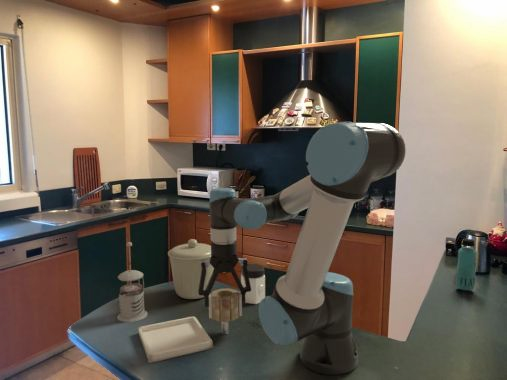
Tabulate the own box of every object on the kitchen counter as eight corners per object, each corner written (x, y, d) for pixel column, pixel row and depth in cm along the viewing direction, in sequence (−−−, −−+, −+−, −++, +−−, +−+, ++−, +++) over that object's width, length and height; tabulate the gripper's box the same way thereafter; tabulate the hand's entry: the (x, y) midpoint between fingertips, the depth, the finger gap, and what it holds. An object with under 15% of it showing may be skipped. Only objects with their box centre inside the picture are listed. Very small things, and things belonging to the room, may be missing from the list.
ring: (238, 309, 126) (237, 288, 125) (239, 323, 117) (239, 299, 116) (212, 310, 125) (211, 289, 124) (211, 324, 116) (210, 301, 115)
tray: (212, 348, 114) (212, 341, 113) (149, 363, 106) (148, 356, 106) (194, 321, 130) (194, 316, 129) (138, 333, 122) (138, 327, 122)
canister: (160, 293, 153) (158, 238, 150) (201, 281, 165) (200, 231, 162) (185, 308, 140) (183, 249, 137) (227, 295, 151) (226, 240, 148)
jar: (251, 306, 141) (251, 273, 139) (236, 299, 147) (236, 267, 145) (269, 299, 147) (269, 267, 145) (254, 292, 153) (254, 262, 151)
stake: (230, 333, 122) (230, 312, 121) (222, 335, 121) (222, 314, 120) (227, 330, 124) (227, 309, 123) (219, 331, 123) (219, 310, 122)
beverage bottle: (456, 293, 152) (460, 241, 149) (453, 286, 158) (457, 236, 155) (476, 295, 150) (480, 242, 147) (472, 288, 156) (476, 237, 153)
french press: (110, 320, 131) (106, 245, 128) (129, 305, 142) (126, 236, 139) (138, 323, 129) (134, 247, 125) (155, 308, 140) (152, 237, 136)
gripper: (256, 236, 124) (257, 307, 127) (187, 240, 120) (189, 312, 123) (261, 242, 116) (262, 317, 119) (187, 246, 113) (190, 323, 116)
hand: (225, 315), depth 121 cm, fingers closed on ring, 8 cm apart
